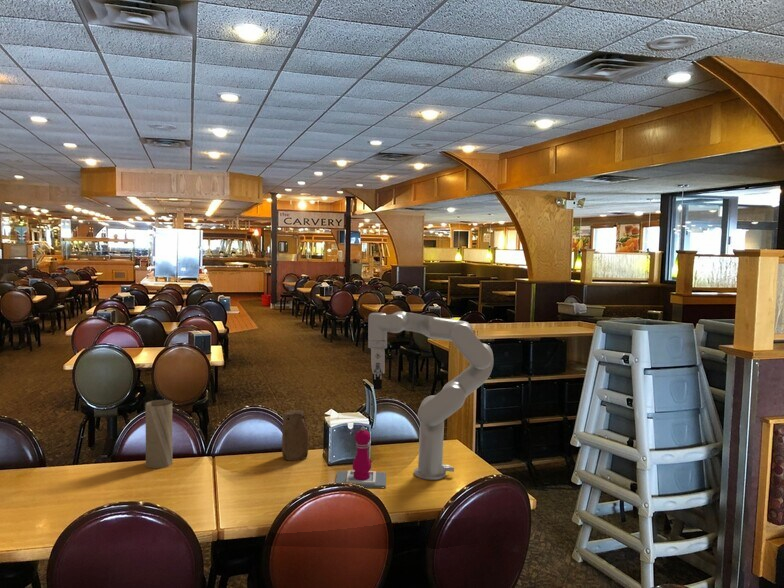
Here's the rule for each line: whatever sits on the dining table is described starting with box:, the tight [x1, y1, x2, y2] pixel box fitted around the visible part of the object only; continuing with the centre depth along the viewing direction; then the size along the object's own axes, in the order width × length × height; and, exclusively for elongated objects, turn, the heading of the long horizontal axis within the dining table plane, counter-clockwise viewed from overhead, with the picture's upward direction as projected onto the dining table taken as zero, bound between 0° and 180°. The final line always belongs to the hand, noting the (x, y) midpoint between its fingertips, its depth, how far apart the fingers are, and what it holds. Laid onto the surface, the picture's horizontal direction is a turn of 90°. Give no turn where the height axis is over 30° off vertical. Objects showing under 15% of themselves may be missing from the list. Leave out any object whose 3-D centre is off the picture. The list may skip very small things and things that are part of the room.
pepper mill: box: [352, 426, 372, 480], centre depth 238 cm, size 7×7×20 cm
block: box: [281, 409, 309, 462], centre depth 259 cm, size 11×8×20 cm
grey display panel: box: [334, 470, 387, 489], centre depth 238 cm, size 19×13×2 cm
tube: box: [145, 399, 173, 470], centre depth 248 cm, size 10×10×25 cm
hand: (377, 386), depth 247 cm, fingers open, 9 cm apart
